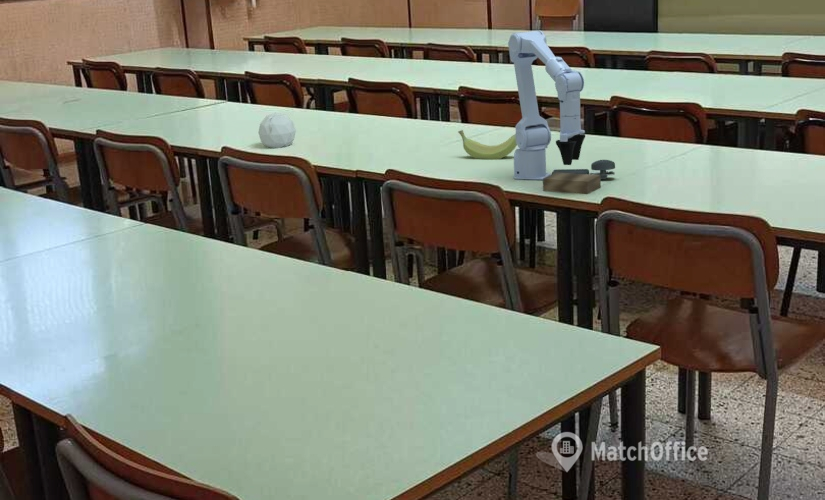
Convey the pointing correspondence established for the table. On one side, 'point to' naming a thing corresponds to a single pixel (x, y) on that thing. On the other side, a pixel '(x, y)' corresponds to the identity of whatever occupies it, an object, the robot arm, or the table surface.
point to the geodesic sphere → (277, 131)
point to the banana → (488, 148)
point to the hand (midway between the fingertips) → (571, 162)
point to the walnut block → (572, 183)
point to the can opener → (596, 165)
